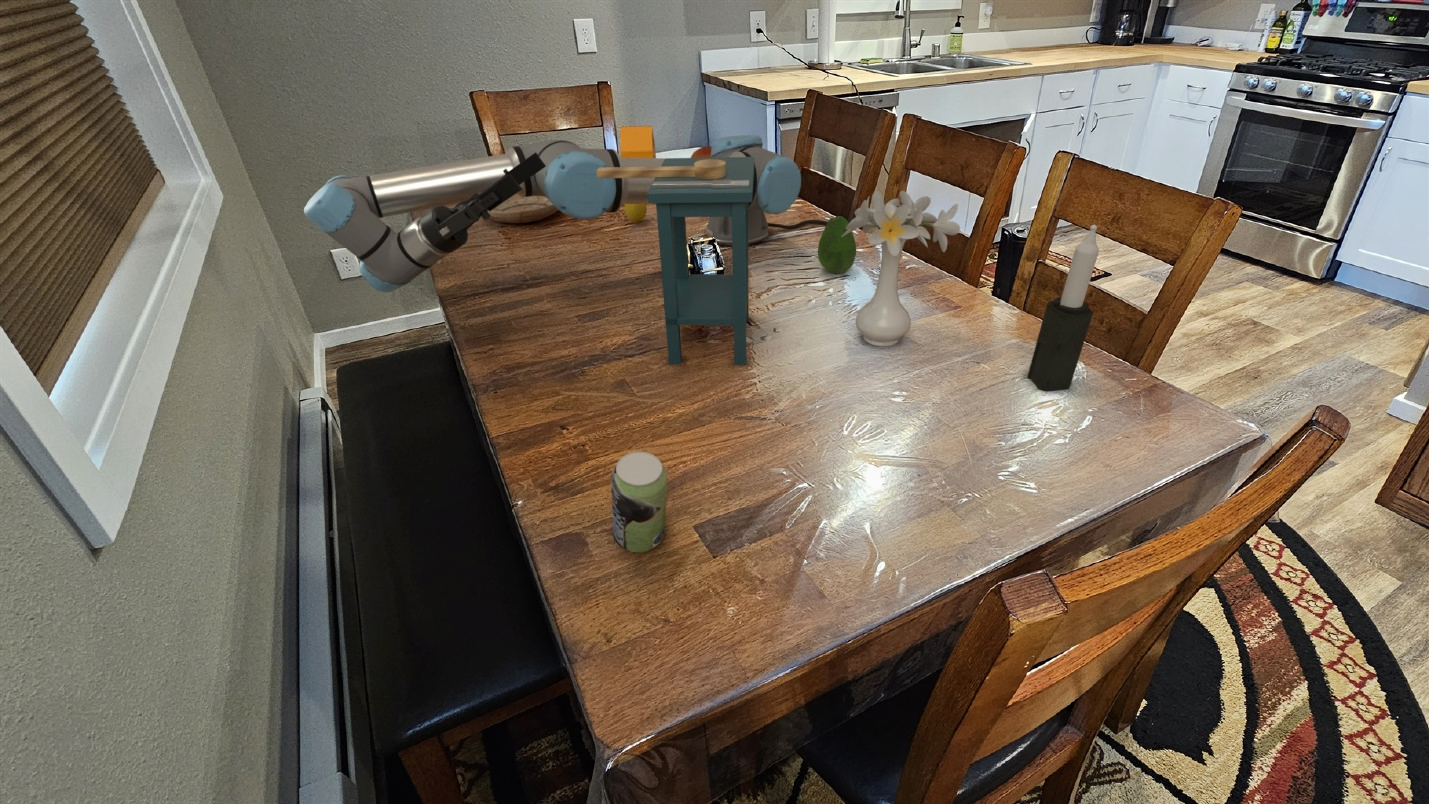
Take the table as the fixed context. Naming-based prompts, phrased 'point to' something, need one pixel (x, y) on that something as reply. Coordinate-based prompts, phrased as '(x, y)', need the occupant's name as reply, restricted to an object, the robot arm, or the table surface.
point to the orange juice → (637, 142)
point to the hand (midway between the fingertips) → (528, 170)
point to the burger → (702, 152)
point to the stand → (684, 293)
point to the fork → (703, 184)
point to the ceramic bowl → (523, 209)
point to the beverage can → (638, 501)
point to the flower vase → (894, 259)
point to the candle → (1065, 323)
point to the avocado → (836, 246)
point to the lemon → (635, 212)
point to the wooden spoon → (668, 171)
